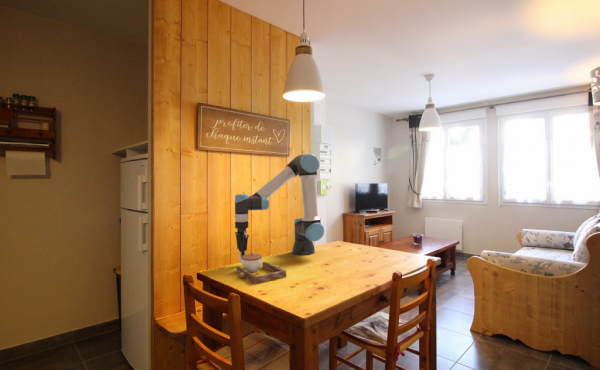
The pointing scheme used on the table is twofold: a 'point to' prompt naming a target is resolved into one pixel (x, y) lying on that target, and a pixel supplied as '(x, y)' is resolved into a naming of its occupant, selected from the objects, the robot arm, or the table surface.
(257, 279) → the rail
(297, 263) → the table surface
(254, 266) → the lidded jar
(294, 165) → the robot arm
